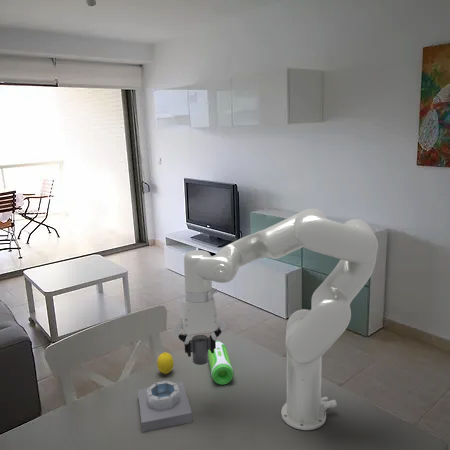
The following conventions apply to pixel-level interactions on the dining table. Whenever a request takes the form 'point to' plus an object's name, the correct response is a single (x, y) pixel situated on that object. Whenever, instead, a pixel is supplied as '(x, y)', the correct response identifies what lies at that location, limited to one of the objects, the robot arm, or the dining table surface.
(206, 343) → the dark grey domed knob
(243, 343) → the dining table surface
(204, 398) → the dining table surface
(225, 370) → the speaker
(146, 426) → the plate with octagonal ring
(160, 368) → the lemon
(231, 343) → the dining table surface
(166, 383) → the octagonal blue-lined ring
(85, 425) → the dining table surface
